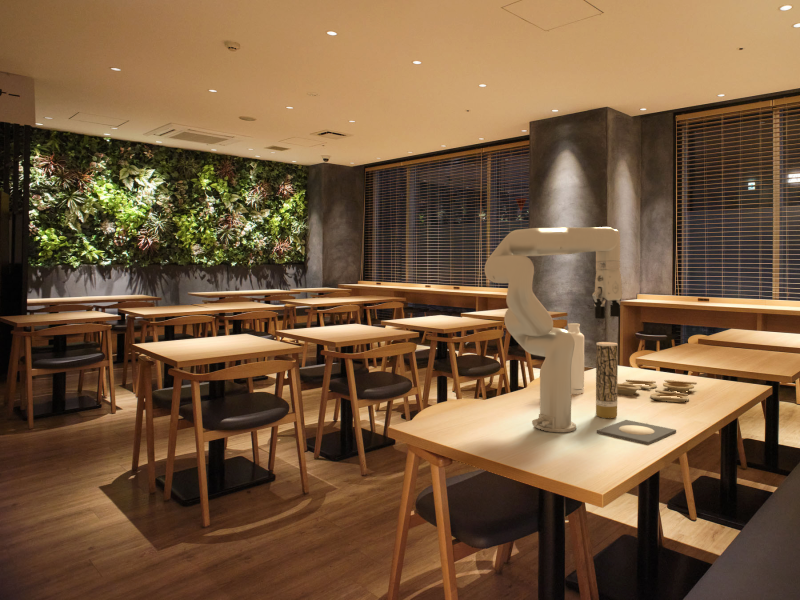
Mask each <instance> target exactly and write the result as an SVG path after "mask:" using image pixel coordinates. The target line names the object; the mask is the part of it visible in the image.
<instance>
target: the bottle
mask: <svg viewBox="0 0 800 600" xmlns="http://www.w3.org/2000/svg"><path fill="white" fill-rule="evenodd" d="M580 326H581V323H576V322H573V323H567V328H568V329H567V331H568V332H570V333H571V334H572V336H573V337H574V341H575V347H574V352H573V357H572V365H571V395H582V394H581V393H583V394H584V393H585V335H584V334H583V333H582V332H581V330H580Z"/></svg>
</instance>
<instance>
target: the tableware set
mask: <svg viewBox="0 0 800 600" xmlns="http://www.w3.org/2000/svg"><path fill="white" fill-rule="evenodd" d="M633 384H645V385H649V386H642V385H633ZM695 385H698V382H695V381H682V380H680V381H679V380H675V379H674V380H672V379H665V380H664V382H663V383H662V386H663V387H664V388H667V389H668V391H667V390H660V389H656V388H658V385H657V384H656V381H655V380H636V379H625V382H623V383H617V395H624V396H632V395H635V394H636V392H637V391H639V390H645V389H646V390H652V389H655V393H651V394H650V398H651V399H652V400H657V401H661V402H666V401H667V402H668V403H686V402H689V401H690V398H689V394H688V393H676V392H671V391H677V392H686V391H688V392H689V390H692V389H694V388H695ZM669 390H670V391H669ZM660 396H677V397H680V398H671V397H660ZM685 401H686V402H685ZM667 402H666V403H667Z"/></svg>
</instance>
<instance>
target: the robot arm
mask: <svg viewBox="0 0 800 600" xmlns="http://www.w3.org/2000/svg"><path fill="white" fill-rule="evenodd" d="M620 237H621V234H620V231H619V230H618V229H614V228H612V227H609V226H602V227H601V226H599V227H596V226H595V227H574V226H573V227H572V226H571V227H569V226H568V227H532V228H523V229H515V230H512V231H510V232H509V233H508V234H507V235H506V236H505V237H504V238H503V239H502V240H501V242H500V243H499V244H498V245H497V247H496V248H495V249H494V251H493V252H492V253H491V254H490V256H489V257H488V258H487V260H486V262H485V265H484V274H485V277H486V278H487V280H488V281H490V282H492V283H495V284H508V286H507V293H506V298H505V299H506V301H505V302H506V305H507V310H506V311H505V313H504V318H503V319H504V325H505V328H506V330H507V331H508V333H509V334H510V335H511V336H512V338H513V339H514V340H515V341H516V343H518V344H519V345H520V346H521V348H522V349H523V350H524V351H525V352H527V353H528V354H529V355H533V356H539V357H544V361H543V363H542V364H541V367H540V369H539V370H540V371H539V413H538V418H536V419H533V420H532V421H531V424H532V426H534V427H535V428H536V429H538V430H540V429H541V431H543V430H544V432H549V433H570V432H572V431H573V432H574V431H576V429H577V424H576V423H575V422H573V421H572V394H571V365H572V357H573V352H574V347H575V341H574V337H573V336H572V334H571V333H570V332H568V329H567V330H566V329H565V328H559V327H554V320H553V318H552V315H551V313H549V311H548V310H547V308H545V306H544V305H543V304H542V302H540V300H539V299H538V297H537V296H536V294H535V293H534V291H533V280H534V274H535V267H534V263H533V260H532V259H531V258H529V257H541V256H560V255H561V256H562V255H574V254H579V253H591V252H595V273H596V274H595V281H594V292H593V293H591V294H592V298H593V300H592V301H593V303H594V304H593V305H594V307H595V308H594V309H595V310H594V313H595V314H594V317H595V319H597V320H598V319H599V320H600V319H601V320H603V319H606V307H605V303H606V301H608V302H609V301H610V303H611V304H610V311H609V312H610V313H609V314H610V317H617V318H619V317H621V304H622V303H621V301H622V298H623V287H622V285H623V284H622V275H621V274H622V273H621V266H620V265H621V261H620V259H621V257H620V256H621V238H620Z"/></svg>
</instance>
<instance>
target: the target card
mask: <svg viewBox="0 0 800 600" xmlns="http://www.w3.org/2000/svg"><path fill="white" fill-rule="evenodd" d="M599 433H600V434H601V435H605V436H608V437H612V436H613V438H617V439H621V438H622V440H627V441H630V440H631V442H634V441H635V442H636V443H640V444H644V445H651V444H653V443H655V442H657V441H658V442H659V440H663V439H664V438H667V437H669V436H671V435H673V434H676V433H677V429H674V428H668V427H666V426H665V427H664V426H660V425H653V424H649V423H643V422H639V421H635V420H634V421H633V420H628V419H623V420H621V421H619V422H616V423H613V424H611V425H608V426H605V427H602V428H599V429H597V430H596V434H599ZM600 434H599V435H600Z"/></svg>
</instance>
